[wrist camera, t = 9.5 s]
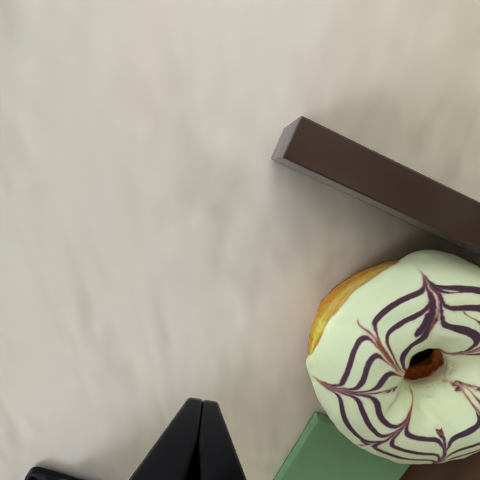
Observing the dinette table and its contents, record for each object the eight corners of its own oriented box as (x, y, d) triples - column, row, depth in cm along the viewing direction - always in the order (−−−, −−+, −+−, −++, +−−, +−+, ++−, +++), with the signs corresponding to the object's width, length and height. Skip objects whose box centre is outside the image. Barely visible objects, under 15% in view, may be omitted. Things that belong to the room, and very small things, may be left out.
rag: (364, 510, 19) (368, 521, 19) (272, 481, 19) (273, 491, 18) (412, 445, 18) (418, 455, 17) (315, 411, 17) (318, 419, 17)
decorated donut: (395, 202, 14) (450, 216, 10) (537, 319, 16) (627, 366, 12) (264, 353, 16) (272, 408, 12) (402, 442, 18) (445, 513, 14)
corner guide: (406, 499, 19) (443, 571, 16) (155, 415, 17) (135, 477, 14) (586, 271, 15) (686, 302, 12) (284, 127, 13) (301, 115, 10)
